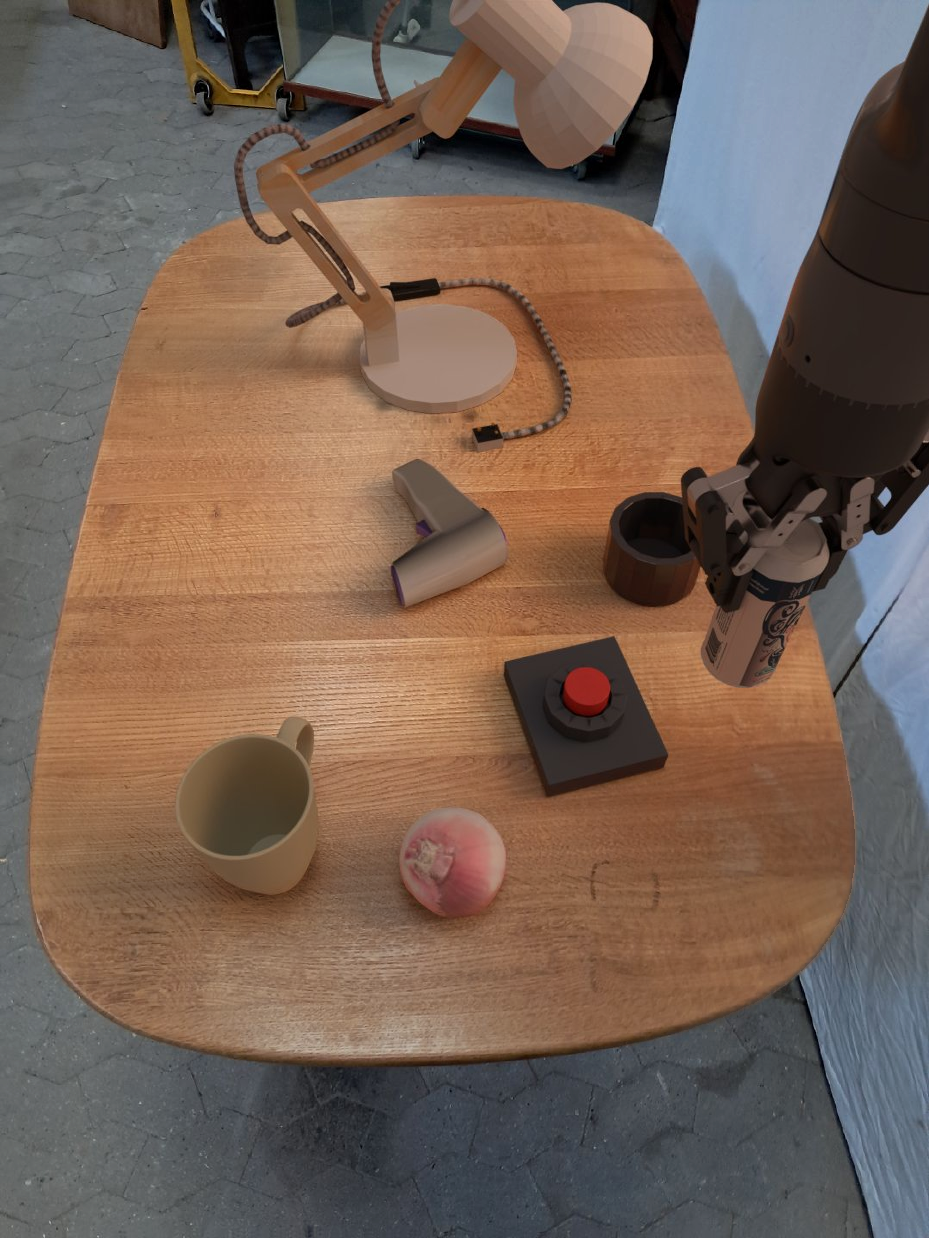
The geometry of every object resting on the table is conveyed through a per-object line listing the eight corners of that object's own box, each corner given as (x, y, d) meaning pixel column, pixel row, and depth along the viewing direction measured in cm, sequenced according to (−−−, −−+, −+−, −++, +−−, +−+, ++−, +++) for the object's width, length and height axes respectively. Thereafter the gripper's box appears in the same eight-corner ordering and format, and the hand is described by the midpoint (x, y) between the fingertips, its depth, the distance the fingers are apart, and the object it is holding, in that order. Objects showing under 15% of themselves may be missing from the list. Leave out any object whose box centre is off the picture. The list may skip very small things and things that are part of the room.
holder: (715, 569, 86) (729, 526, 81) (657, 623, 82) (669, 581, 77) (641, 521, 90) (651, 477, 85) (583, 570, 86) (590, 527, 81)
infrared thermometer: (430, 480, 94) (516, 565, 86) (328, 530, 90) (408, 623, 82) (427, 446, 91) (516, 530, 83) (320, 496, 87) (403, 590, 79)
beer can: (761, 704, 56) (821, 582, 47) (688, 673, 58) (731, 549, 48) (784, 648, 59) (845, 521, 49) (713, 620, 60) (759, 491, 50)
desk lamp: (646, 421, 98) (730, -1, 66) (298, 484, 93) (206, 58, 61) (559, 265, 116) (593, -128, 84) (264, 310, 111) (178, -91, 78)
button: (614, 710, 73) (616, 699, 71) (571, 721, 72) (573, 709, 71) (598, 674, 75) (600, 662, 73) (556, 684, 74) (558, 672, 73)
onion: (381, 865, 69) (373, 826, 63) (462, 807, 71) (461, 765, 66) (445, 950, 65) (442, 917, 59) (527, 886, 68) (533, 848, 62)
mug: (360, 894, 67) (342, 828, 58) (228, 940, 65) (186, 879, 56) (324, 769, 74) (302, 690, 64) (202, 808, 72) (160, 732, 62)
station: (664, 767, 73) (672, 743, 70) (546, 797, 72) (550, 774, 69) (611, 650, 80) (617, 623, 77) (503, 675, 79) (504, 649, 76)
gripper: (757, 431, 35) (678, 671, 49) (1071, 364, 38) (912, 611, 51) (678, 319, 40) (625, 569, 53) (964, 265, 42) (843, 517, 56)
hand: (766, 588), depth 52 cm, fingers closed on beer can, 4 cm apart
